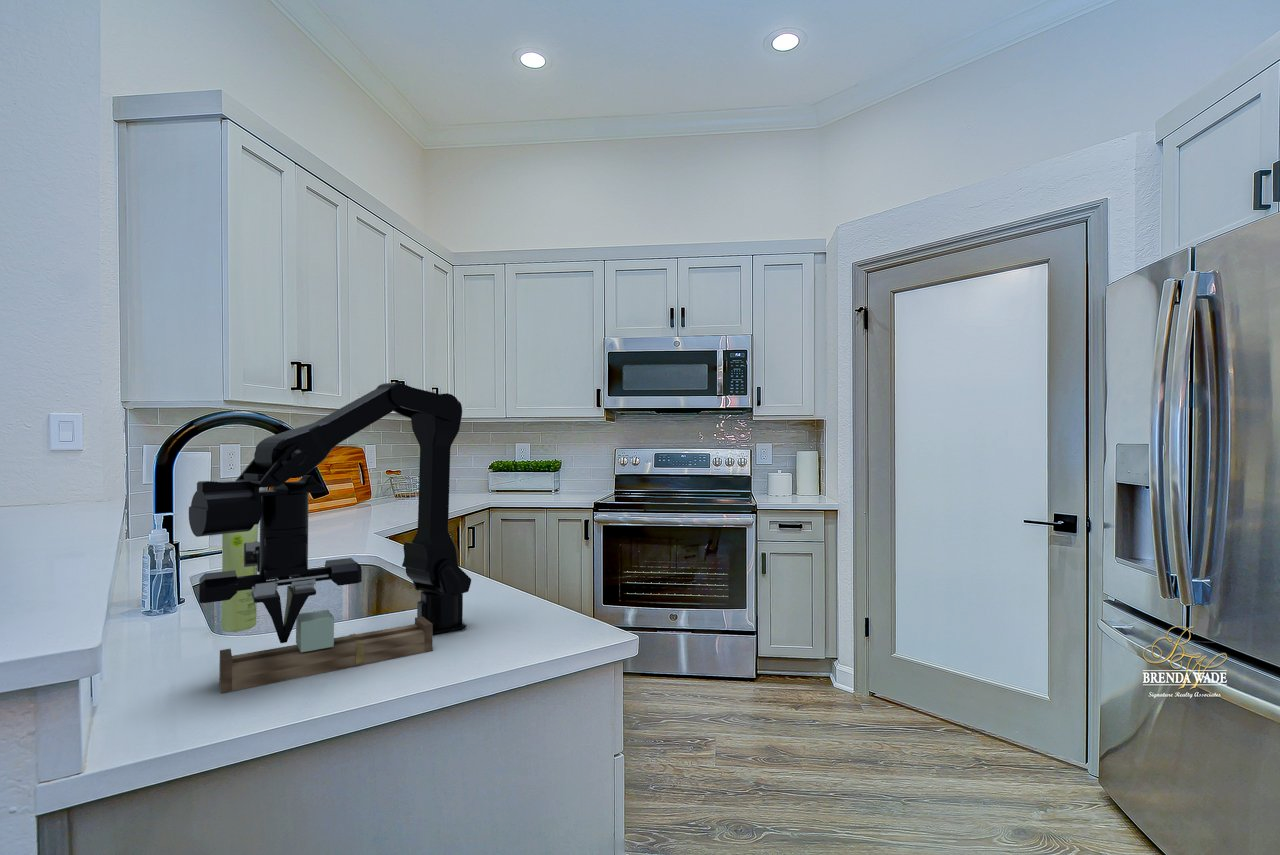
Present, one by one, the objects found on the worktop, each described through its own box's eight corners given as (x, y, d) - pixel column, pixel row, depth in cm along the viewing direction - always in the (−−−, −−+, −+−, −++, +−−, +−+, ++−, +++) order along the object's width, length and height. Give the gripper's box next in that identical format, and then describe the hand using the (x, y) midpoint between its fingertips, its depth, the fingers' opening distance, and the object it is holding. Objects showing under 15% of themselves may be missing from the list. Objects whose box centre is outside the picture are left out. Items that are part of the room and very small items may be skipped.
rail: (422, 641, 96) (422, 616, 96) (432, 650, 91) (432, 624, 91) (219, 680, 80) (219, 649, 80) (220, 693, 76) (220, 661, 76)
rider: (327, 648, 87) (327, 609, 88) (333, 658, 83) (334, 617, 84) (295, 653, 85) (296, 614, 85) (300, 664, 81) (301, 622, 81)
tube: (256, 630, 101) (258, 513, 102) (220, 635, 98) (222, 515, 99) (256, 622, 106) (258, 510, 106) (221, 626, 103) (223, 512, 104)
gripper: (347, 516, 94) (346, 616, 94) (200, 526, 83) (198, 640, 83) (362, 524, 85) (362, 634, 85) (200, 536, 74) (198, 664, 74)
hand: (283, 642), depth 82 cm, fingers closed
